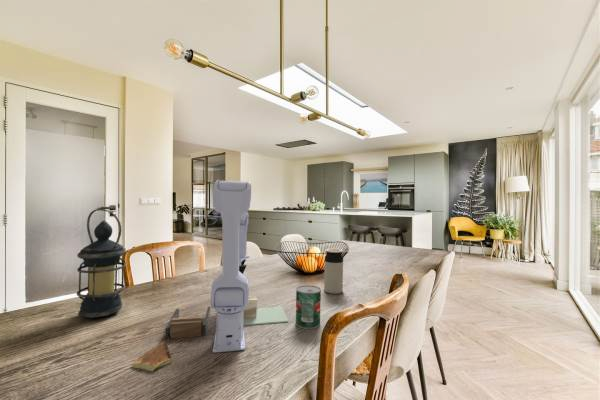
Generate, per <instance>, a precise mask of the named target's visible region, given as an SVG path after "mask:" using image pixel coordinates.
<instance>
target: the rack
mask: <svg viewBox="0 0 600 400" xmlns="http://www.w3.org/2000/svg"><path fill="white" fill-rule="evenodd" d="M211 308H212V306H207V309H206V313H205V316H204V319H203V333H202V337H205V336H206V335H207V332H208V327H209V322H210V318H211ZM172 318H180V308H176V309H175V310H174V313H173V314H172V316H171V318H170V319H169V321H168V322H167V324H166V326H165V329H164V330H165V331H164V332H165V335H164V339H165V340H169V338H171V322H172Z"/></svg>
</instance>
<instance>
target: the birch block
mask: <svg viewBox="0 0 600 400" xmlns="http://www.w3.org/2000/svg"><path fill="white" fill-rule="evenodd" d="M257 301H258V298H257V295H249V302H248V306H247V307H244V314H243V319H250V318H256V315H257V308H258V306H257V305H258V302H257Z"/></svg>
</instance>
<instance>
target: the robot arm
mask: <svg viewBox="0 0 600 400" xmlns="http://www.w3.org/2000/svg"><path fill="white" fill-rule="evenodd" d="M251 201H252V182H251V181H250V180H220V179H217V180H216V181H215V182H214V184H213V208H214V209H213V210H214V211H215V212H217V213H219V214H220V217H221V222H222V226H221V227H222V229H221V230H222V238H221V239H222V240H221V241H222V243H221V245H222V248H221V249H222V257H221V258H222V261H221V262H222V272H221V273H220V274H218V275H217V276H216V277H214V279H213V281H212V284H211V291H210V307H211V308H212V309H214V310H215V311H214V312H215V314H216V317H215V318H216V321H215V325H216V326H215V334H214V341H213V347H212V353H224V352H225V353H226V352H235V351H243V350H245V349H246V344H245V343H246V342H245V341H246V339H245V331H244V326H243V314H244V307H247V306H248V302H249V296H250V285H249V279H248V276H246V275H245V274H244V272H245V270H246V269H247V264H245V263H246V259H249V258H250V255H247V246H248V245H247V237H248V235H247V234H248V225H249V211H250V208H251Z"/></svg>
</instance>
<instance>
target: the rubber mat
mask: <svg viewBox="0 0 600 400" xmlns="http://www.w3.org/2000/svg"><path fill="white" fill-rule="evenodd" d="M283 323H289V319H288V317H287V314H286V312H285V310H284V308H283V306H275V307H259V308H258V307H257V315H256V318H250V319H243V327H246V326H256V325H269V324H283Z"/></svg>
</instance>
